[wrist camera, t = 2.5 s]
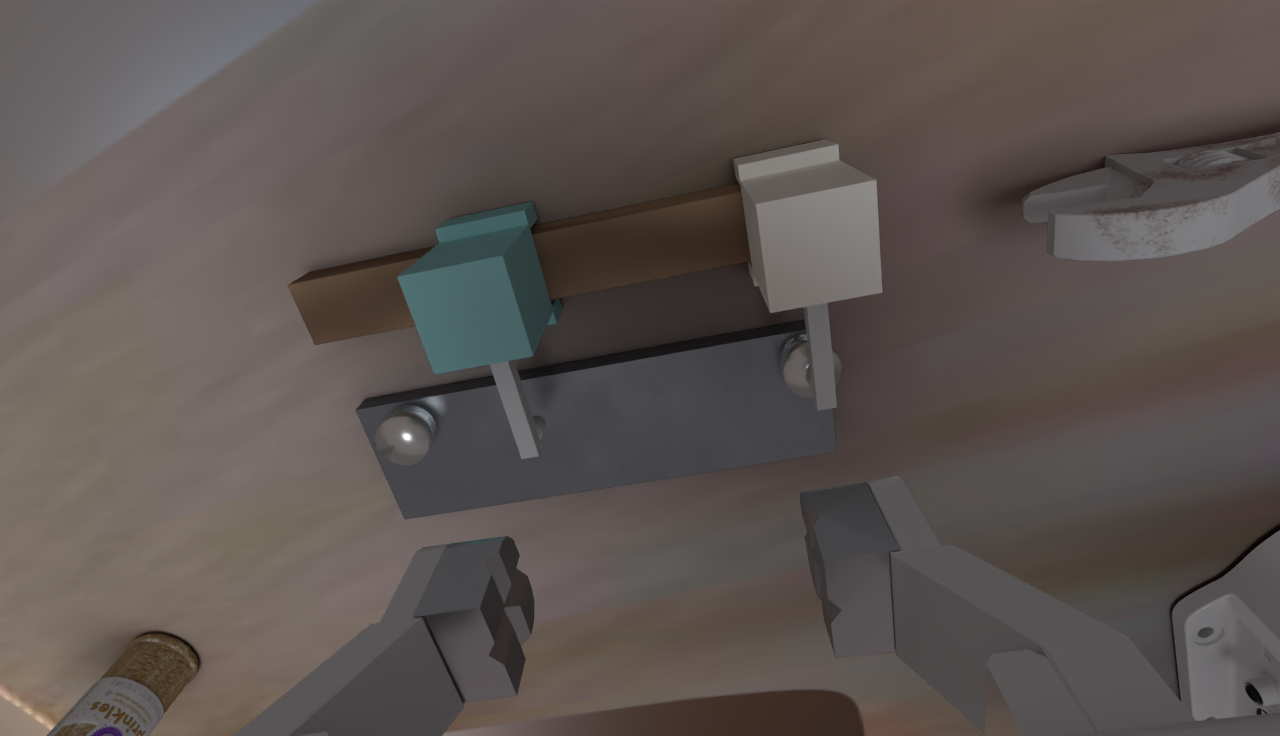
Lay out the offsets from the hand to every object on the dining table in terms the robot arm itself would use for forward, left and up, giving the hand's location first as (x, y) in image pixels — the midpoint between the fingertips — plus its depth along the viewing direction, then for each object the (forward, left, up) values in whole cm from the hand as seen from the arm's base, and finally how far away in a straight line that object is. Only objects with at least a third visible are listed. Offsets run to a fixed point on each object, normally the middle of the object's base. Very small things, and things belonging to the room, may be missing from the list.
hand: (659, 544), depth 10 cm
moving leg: (-2, +7, -21) cm, 22 cm away
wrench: (-1, -29, -22) cm, 36 cm away
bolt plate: (-9, +5, -21) cm, 23 cm away
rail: (0, +5, -21) cm, 22 cm away
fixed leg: (-2, -6, -21) cm, 22 cm away
